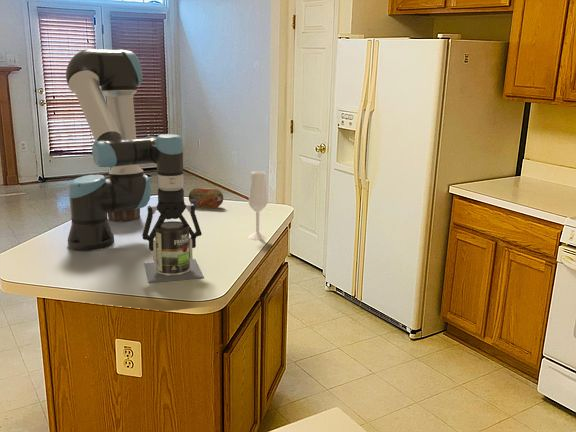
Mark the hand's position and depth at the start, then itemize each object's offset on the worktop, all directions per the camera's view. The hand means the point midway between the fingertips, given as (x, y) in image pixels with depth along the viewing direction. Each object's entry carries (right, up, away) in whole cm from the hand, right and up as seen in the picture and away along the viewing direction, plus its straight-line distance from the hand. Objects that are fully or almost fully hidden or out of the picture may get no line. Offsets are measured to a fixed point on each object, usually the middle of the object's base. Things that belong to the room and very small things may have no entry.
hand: (172, 259), depth 174 cm
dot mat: (0, -4, +1) cm, 4 cm away
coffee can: (0, -3, +1) cm, 4 cm away
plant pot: (-31, +12, +55) cm, 64 cm away
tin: (0, +17, +75) cm, 77 cm away
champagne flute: (+24, +5, +35) cm, 43 cm away
